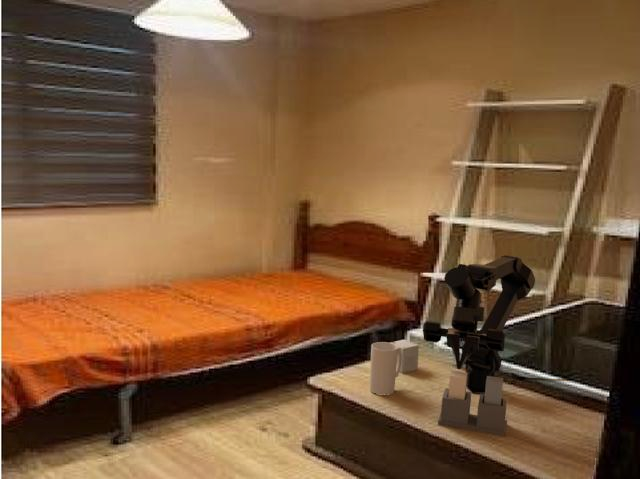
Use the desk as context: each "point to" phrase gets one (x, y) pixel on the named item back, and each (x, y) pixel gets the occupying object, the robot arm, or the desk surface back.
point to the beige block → (457, 385)
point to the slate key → (493, 390)
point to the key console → (484, 421)
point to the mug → (384, 367)
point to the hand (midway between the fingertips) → (458, 368)
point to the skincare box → (408, 355)
